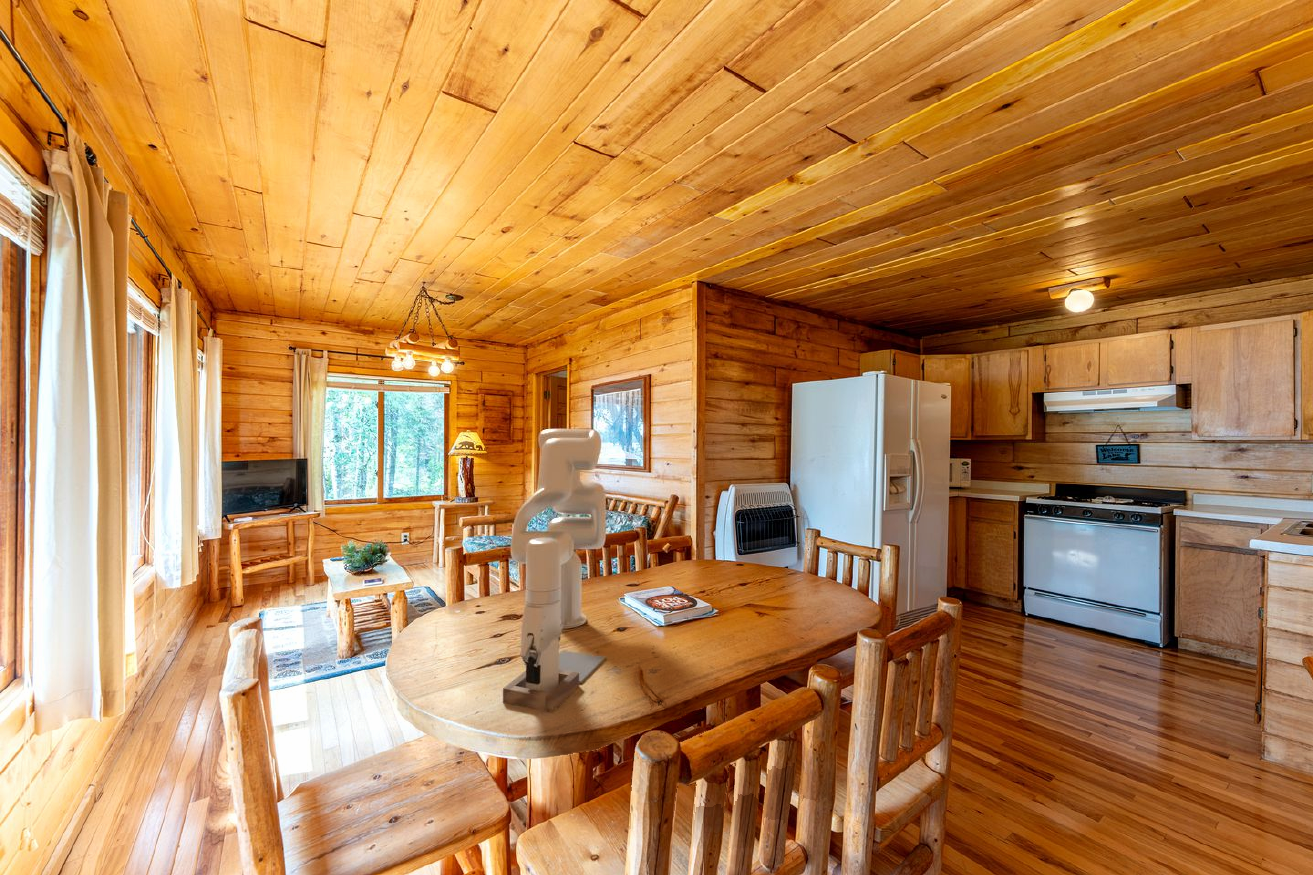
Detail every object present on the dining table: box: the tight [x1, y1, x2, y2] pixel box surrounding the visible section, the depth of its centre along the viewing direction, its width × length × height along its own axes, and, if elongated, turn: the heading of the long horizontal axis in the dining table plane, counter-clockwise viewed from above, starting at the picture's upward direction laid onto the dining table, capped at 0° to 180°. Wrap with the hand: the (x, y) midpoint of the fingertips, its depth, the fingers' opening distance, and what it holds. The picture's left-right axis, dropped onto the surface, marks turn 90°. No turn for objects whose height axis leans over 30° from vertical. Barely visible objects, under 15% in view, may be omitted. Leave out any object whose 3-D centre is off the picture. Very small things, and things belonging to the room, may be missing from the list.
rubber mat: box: [559, 649, 607, 685], centre depth 133 cm, size 12×14×1 cm
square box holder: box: [502, 670, 580, 713], centre depth 119 cm, size 12×12×3 cm
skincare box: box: [526, 638, 560, 693], centre depth 119 cm, size 6×4×12 cm
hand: (542, 674), depth 119 cm, fingers closed on skincare box, 7 cm apart
